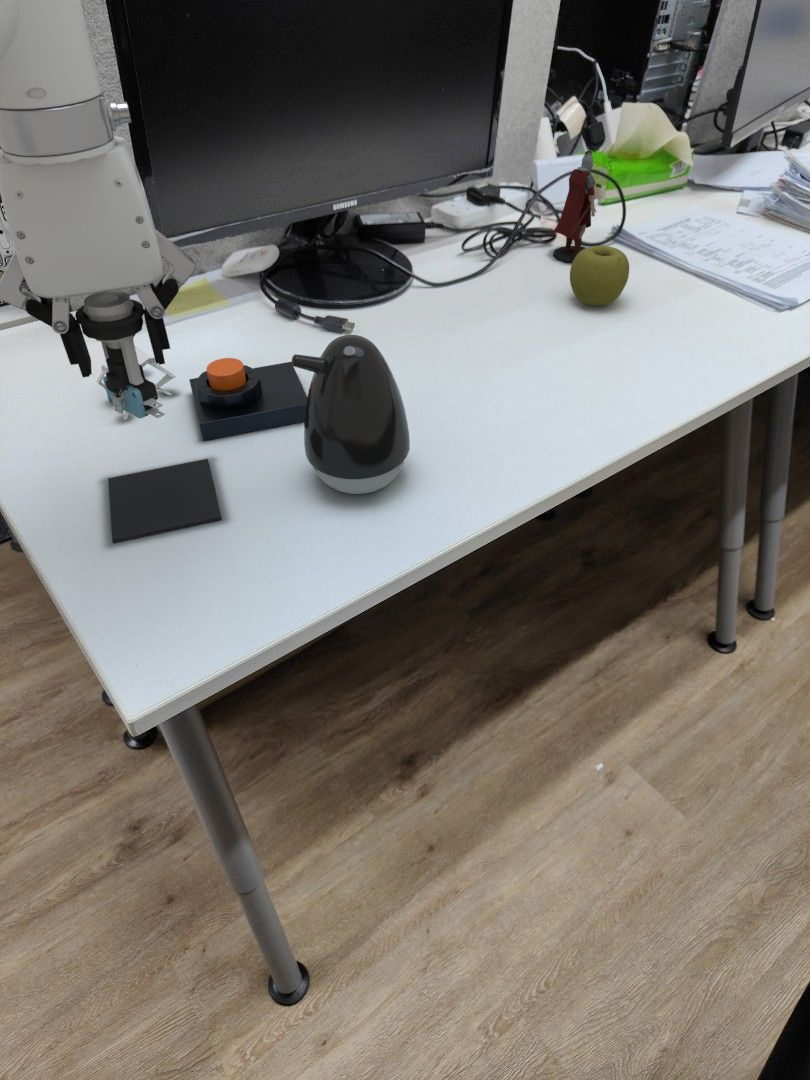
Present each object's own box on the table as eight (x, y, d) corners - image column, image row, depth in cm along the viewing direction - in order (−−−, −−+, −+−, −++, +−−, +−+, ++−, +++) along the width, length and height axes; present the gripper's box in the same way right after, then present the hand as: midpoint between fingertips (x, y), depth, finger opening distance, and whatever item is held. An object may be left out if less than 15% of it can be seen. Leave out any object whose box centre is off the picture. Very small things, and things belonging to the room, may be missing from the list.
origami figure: (187, 406, 88) (178, 367, 84) (114, 426, 85) (101, 387, 81) (160, 362, 96) (151, 325, 92) (92, 379, 93) (80, 342, 89)
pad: (113, 543, 70) (111, 540, 70) (109, 481, 77) (107, 478, 77) (222, 519, 72) (221, 516, 72) (208, 461, 79) (207, 458, 79)
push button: (186, 410, 68) (164, 301, 62) (136, 434, 65) (108, 323, 58) (139, 387, 71) (114, 281, 65) (89, 409, 68) (58, 300, 61)
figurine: (605, 258, 118) (621, 152, 108) (567, 268, 115) (580, 161, 105) (577, 244, 122) (590, 142, 112) (540, 253, 120) (551, 149, 110)
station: (203, 441, 82) (196, 409, 80) (193, 395, 89) (185, 364, 87) (312, 420, 85) (308, 388, 82) (293, 377, 92) (289, 347, 89)
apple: (601, 319, 102) (609, 267, 97) (554, 301, 106) (560, 250, 102) (634, 302, 106) (644, 251, 101) (588, 285, 110) (595, 235, 105)
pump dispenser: (297, 459, 79) (279, 322, 69) (393, 441, 81) (388, 305, 71) (319, 519, 72) (301, 375, 62) (423, 497, 74) (423, 355, 64)
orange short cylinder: (212, 395, 82) (208, 378, 81) (207, 377, 85) (204, 361, 84) (249, 388, 83) (246, 371, 82) (243, 371, 86) (240, 355, 85)
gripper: (174, 103, 57) (218, 328, 69) (-73, 127, 54) (19, 360, 66) (185, 127, 52) (231, 366, 64) (-89, 155, 48) (14, 404, 60)
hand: (123, 361), depth 65 cm, fingers closed on push button, 5 cm apart
